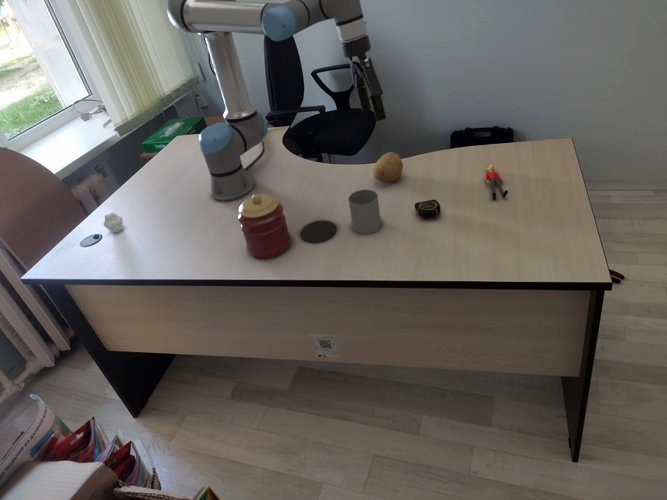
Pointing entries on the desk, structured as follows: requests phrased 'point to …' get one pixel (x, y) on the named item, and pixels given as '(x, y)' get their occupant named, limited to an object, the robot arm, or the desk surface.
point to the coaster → (318, 231)
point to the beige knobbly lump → (113, 222)
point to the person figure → (494, 181)
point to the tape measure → (428, 209)
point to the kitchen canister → (264, 226)
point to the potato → (388, 167)
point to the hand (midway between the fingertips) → (373, 114)
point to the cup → (364, 211)
